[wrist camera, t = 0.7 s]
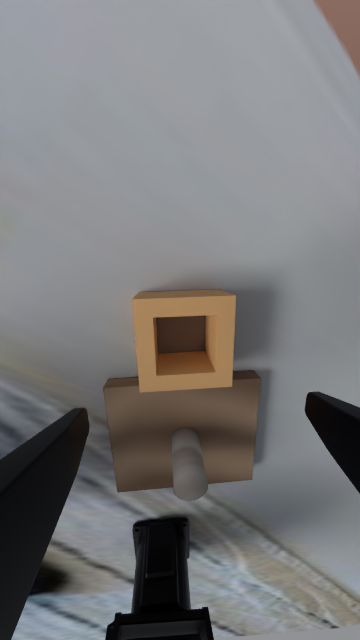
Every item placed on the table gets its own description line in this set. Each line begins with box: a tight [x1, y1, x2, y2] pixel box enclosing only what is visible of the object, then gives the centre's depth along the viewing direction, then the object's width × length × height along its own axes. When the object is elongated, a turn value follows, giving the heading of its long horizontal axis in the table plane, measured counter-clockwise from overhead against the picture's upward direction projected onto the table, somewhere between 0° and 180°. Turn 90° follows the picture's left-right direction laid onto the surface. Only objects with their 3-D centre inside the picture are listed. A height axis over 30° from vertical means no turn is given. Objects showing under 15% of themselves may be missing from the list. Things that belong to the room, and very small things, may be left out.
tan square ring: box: [132, 289, 236, 393], centre depth 16 cm, size 7×7×4 cm
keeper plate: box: [103, 370, 261, 501], centre depth 18 cm, size 12×14×6 cm
